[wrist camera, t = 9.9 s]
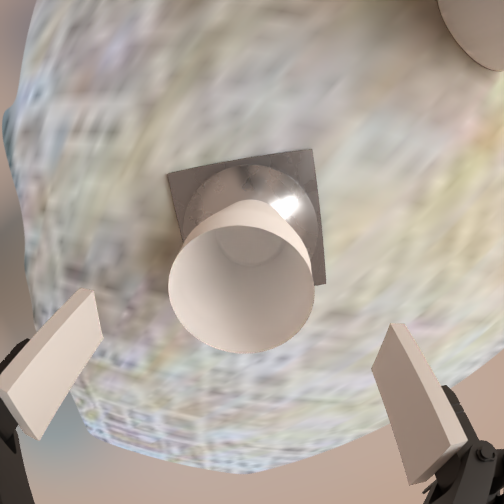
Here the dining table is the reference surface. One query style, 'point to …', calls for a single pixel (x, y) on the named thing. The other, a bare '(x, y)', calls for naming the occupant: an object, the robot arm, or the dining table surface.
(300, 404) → the dining table surface
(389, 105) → the dining table surface
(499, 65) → the utensil holder
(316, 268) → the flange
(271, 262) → the cup
